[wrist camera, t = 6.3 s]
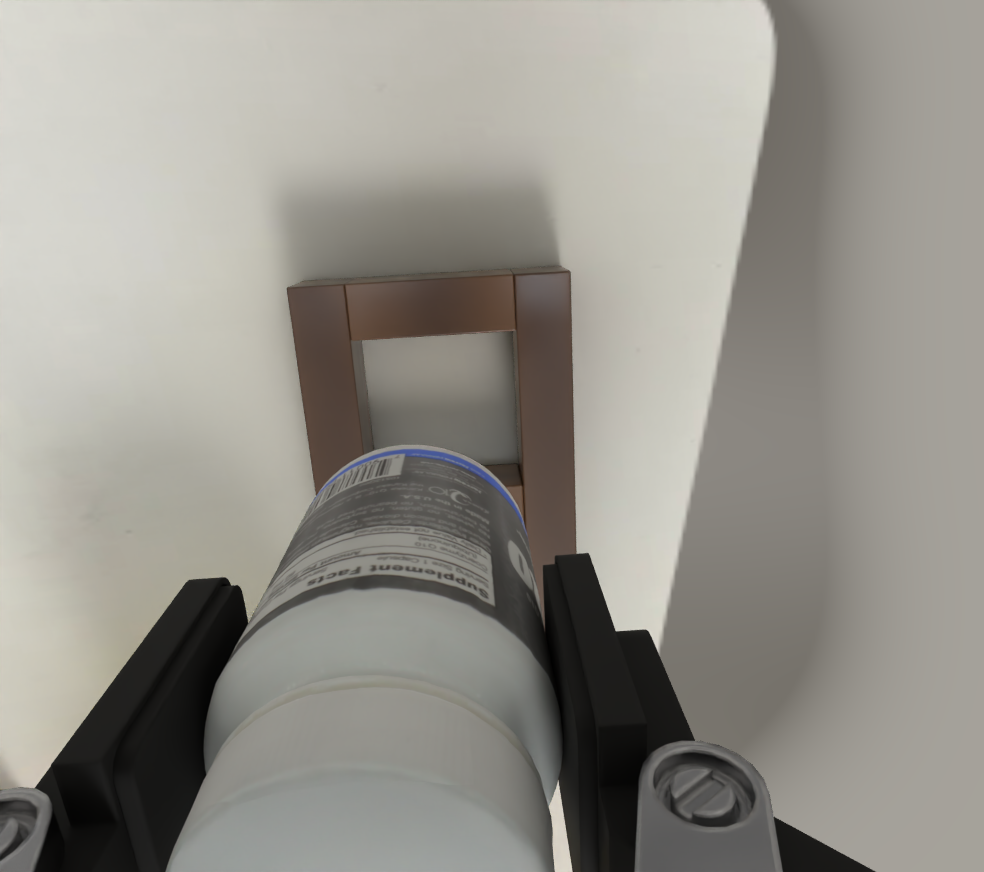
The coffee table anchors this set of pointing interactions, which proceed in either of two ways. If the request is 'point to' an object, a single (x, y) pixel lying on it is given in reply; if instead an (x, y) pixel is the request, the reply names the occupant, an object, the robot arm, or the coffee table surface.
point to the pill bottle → (387, 688)
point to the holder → (449, 311)
